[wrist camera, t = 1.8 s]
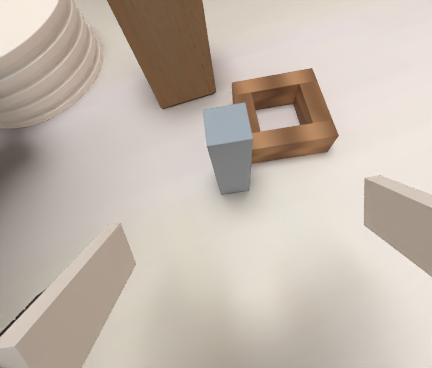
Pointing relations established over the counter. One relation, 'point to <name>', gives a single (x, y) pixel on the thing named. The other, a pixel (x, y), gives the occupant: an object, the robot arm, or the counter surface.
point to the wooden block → (169, 46)
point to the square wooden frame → (305, 108)
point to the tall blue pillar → (229, 146)
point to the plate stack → (44, 60)
